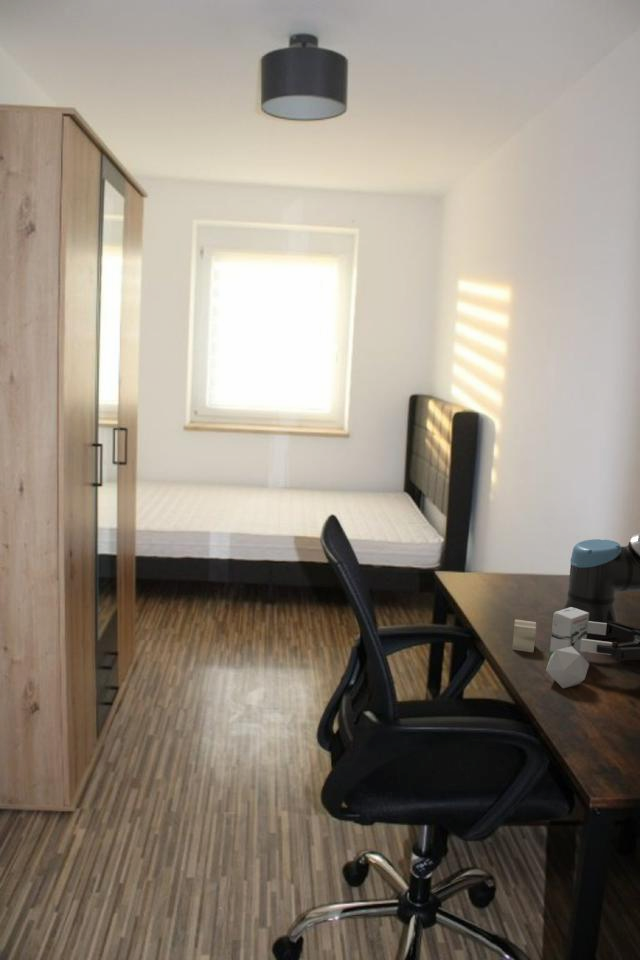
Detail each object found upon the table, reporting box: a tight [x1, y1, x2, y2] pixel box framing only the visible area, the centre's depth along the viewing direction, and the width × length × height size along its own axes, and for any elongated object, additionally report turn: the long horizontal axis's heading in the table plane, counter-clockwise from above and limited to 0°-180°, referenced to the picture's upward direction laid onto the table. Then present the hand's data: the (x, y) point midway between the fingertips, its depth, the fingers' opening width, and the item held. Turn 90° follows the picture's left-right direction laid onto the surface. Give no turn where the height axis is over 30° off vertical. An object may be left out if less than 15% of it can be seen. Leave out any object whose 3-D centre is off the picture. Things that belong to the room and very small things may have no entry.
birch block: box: [511, 619, 537, 653], centre depth 201 cm, size 5×5×6 cm
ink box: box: [548, 607, 589, 661], centre depth 193 cm, size 9×5×12 cm, turn 134°
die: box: [545, 646, 590, 689], centre depth 180 cm, size 8×9×10 cm
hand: (578, 634), depth 191 cm, fingers open, 13 cm apart
